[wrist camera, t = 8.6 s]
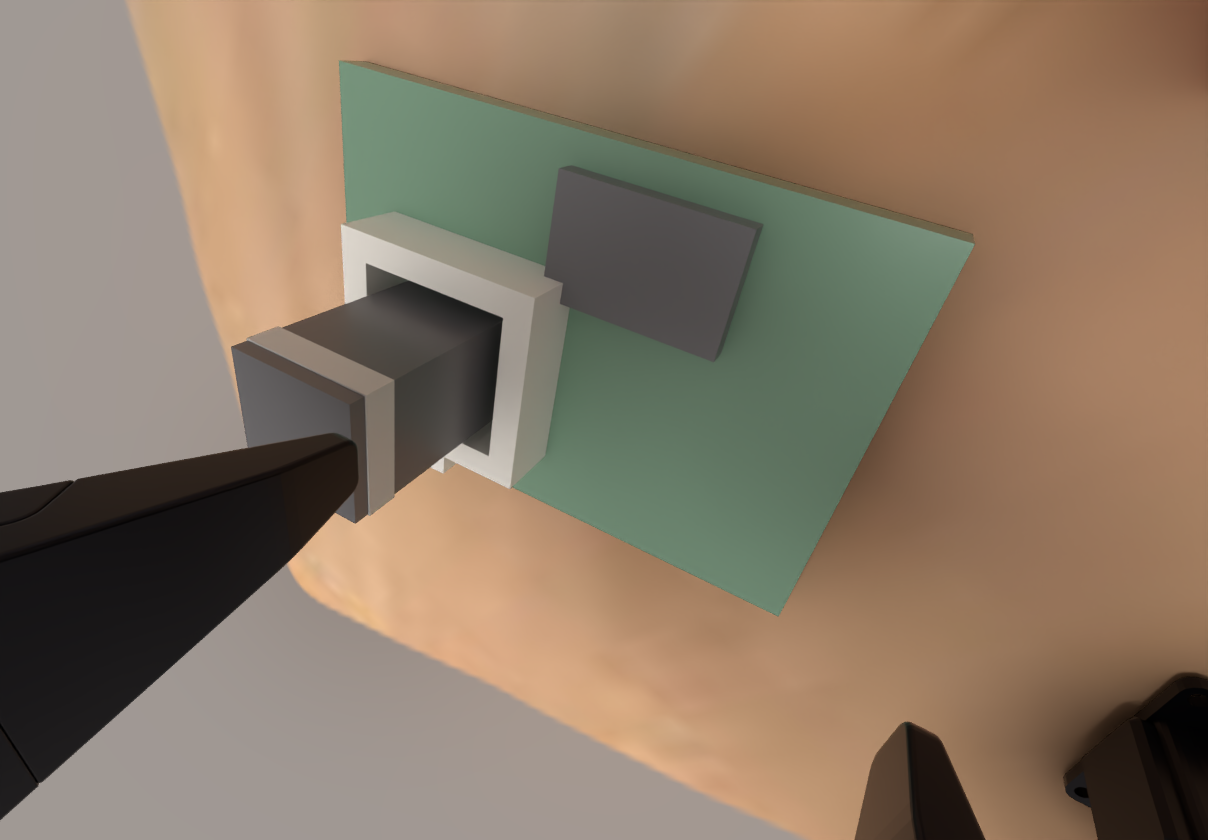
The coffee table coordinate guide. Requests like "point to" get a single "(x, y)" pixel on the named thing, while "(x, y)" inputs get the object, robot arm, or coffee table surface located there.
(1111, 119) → the coffee table surface
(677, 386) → the circuit board
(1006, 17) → the coffee table surface
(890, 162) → the coffee table surface
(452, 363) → the black plug
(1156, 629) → the coffee table surface
